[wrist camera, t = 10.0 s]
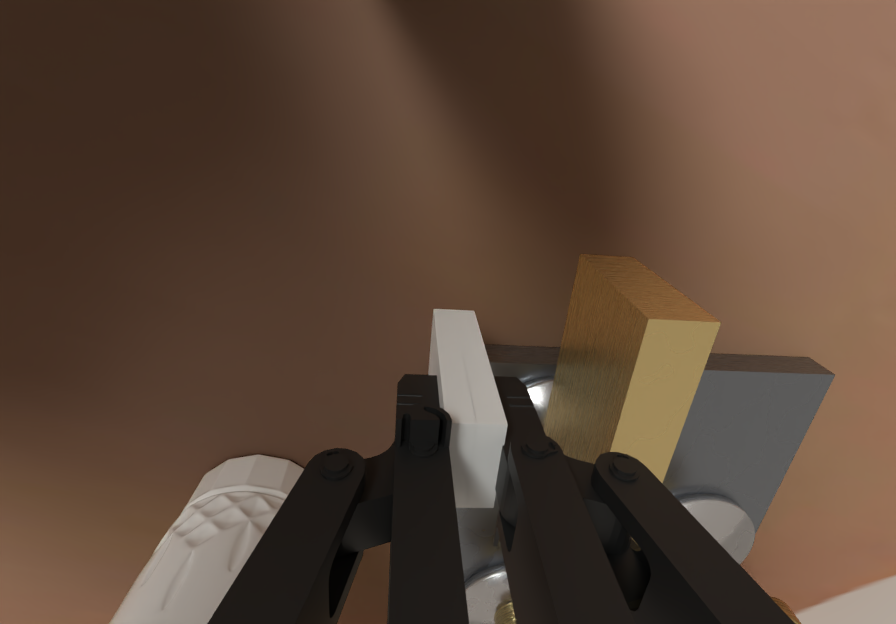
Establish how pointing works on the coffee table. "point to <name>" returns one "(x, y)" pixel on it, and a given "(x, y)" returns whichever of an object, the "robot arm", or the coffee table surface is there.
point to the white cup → (209, 542)
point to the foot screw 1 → (505, 615)
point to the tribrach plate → (678, 453)
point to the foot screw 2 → (626, 364)
